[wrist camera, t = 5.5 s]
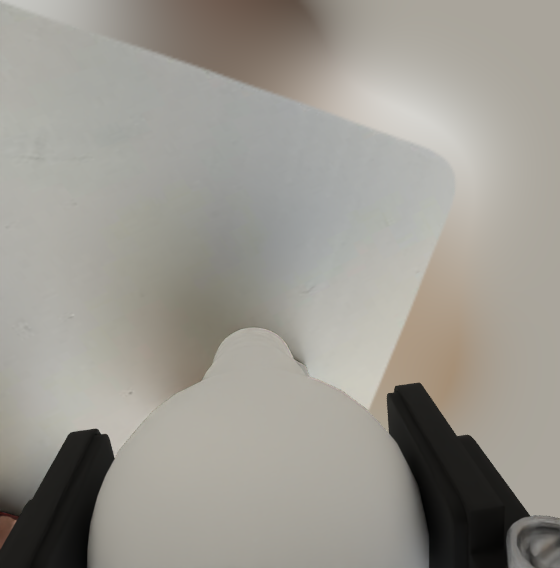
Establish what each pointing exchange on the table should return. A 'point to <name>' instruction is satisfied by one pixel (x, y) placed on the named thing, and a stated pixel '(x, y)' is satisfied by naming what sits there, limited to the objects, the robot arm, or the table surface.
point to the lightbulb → (259, 476)
